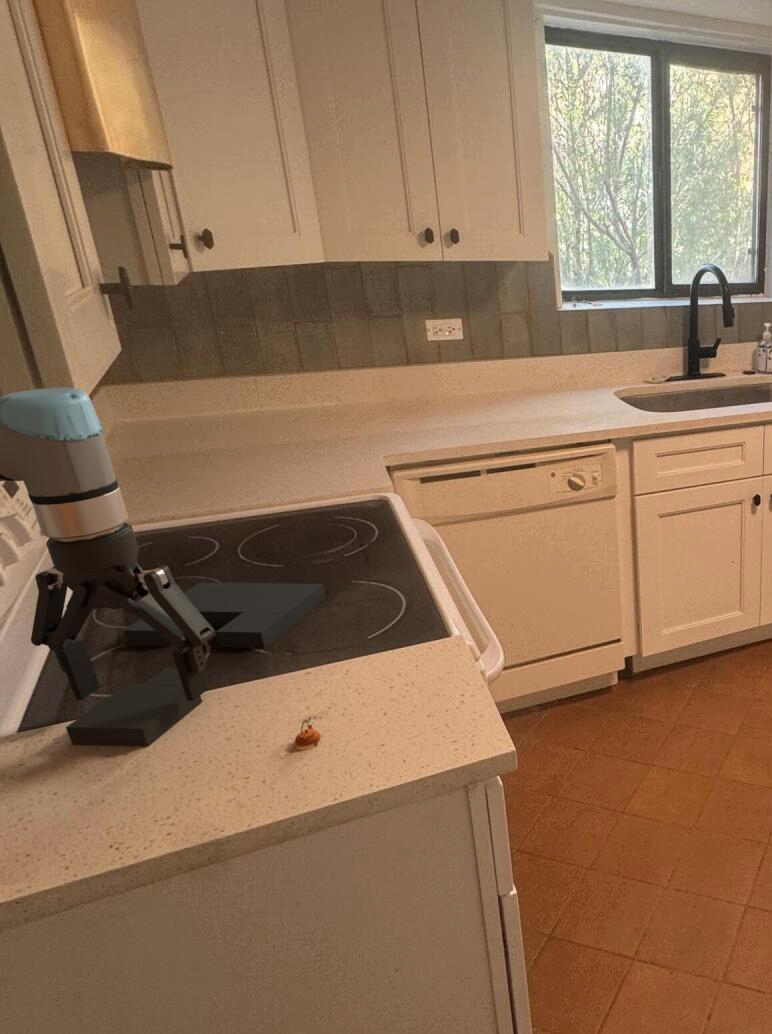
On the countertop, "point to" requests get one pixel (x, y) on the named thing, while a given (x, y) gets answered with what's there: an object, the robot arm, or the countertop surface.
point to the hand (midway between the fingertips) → (143, 694)
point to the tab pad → (135, 713)
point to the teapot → (307, 738)
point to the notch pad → (241, 612)
